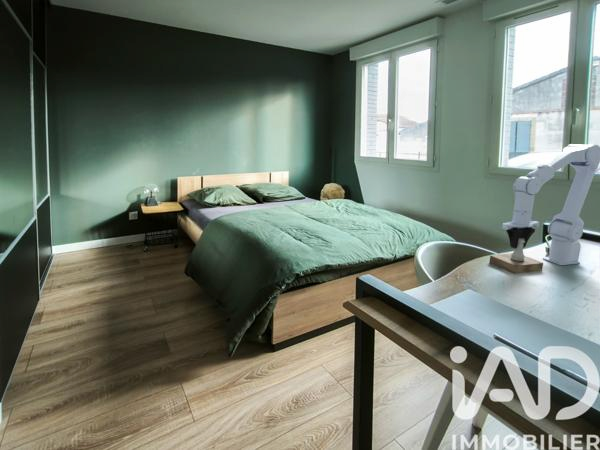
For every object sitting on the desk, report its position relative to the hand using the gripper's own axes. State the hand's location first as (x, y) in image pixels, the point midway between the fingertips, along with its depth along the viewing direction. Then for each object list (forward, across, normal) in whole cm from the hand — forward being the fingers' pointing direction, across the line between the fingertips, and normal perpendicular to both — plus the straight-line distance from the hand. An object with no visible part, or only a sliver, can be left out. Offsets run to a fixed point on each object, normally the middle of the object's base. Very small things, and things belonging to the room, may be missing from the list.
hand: (517, 247), depth 134 cm
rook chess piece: (+5, 0, -1) cm, 5 cm away
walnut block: (+8, 0, 0) cm, 8 cm away
